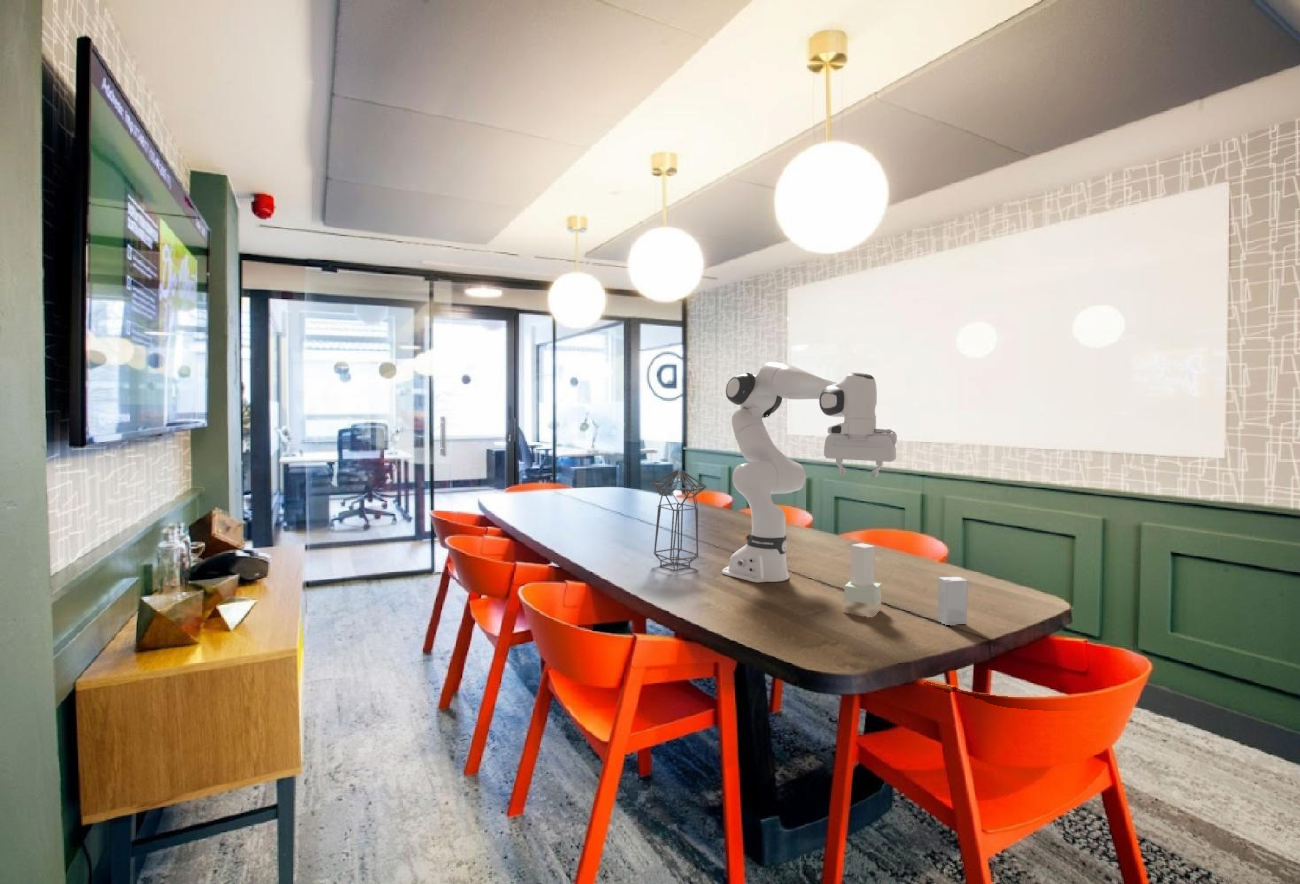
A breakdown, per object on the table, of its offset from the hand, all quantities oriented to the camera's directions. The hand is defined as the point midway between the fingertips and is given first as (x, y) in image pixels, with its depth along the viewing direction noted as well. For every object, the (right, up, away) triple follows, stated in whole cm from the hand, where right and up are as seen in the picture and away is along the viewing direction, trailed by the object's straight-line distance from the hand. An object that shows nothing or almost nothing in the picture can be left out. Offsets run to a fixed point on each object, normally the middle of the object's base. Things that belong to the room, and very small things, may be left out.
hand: (858, 475), depth 183 cm
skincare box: (+19, -39, -18) cm, 46 cm away
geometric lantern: (-51, -35, +39) cm, 73 cm away
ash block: (-2, -38, -8) cm, 39 cm away
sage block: (-2, -34, -9) cm, 35 cm away
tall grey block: (-2, -30, -9) cm, 31 cm away
